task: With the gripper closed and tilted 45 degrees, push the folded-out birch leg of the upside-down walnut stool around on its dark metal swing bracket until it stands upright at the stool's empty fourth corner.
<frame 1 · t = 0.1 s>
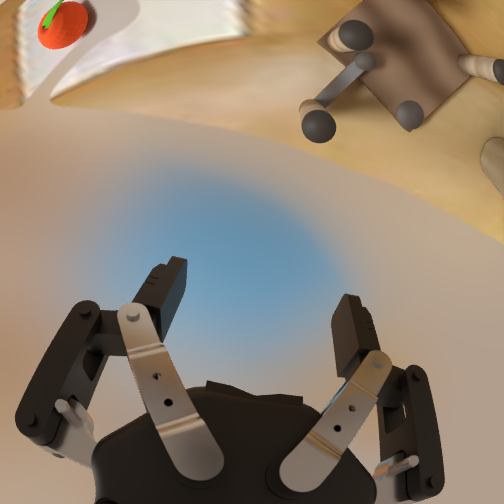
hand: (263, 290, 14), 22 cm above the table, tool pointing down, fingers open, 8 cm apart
swing leg: (343, 89, 20), point 6 cm above the table, hinge at -90.0°
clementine: (81, 21, 20), on the table
flower pot: (493, 156, 25), on the table
stool: (402, 49, 20), on the table
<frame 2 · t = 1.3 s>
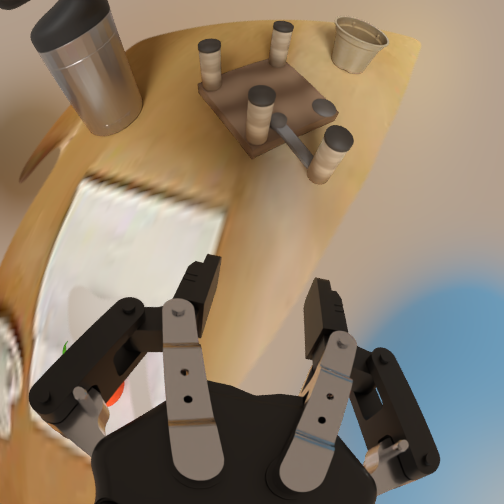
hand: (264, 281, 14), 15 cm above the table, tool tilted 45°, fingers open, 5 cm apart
swing leg: (305, 130, 27), point 6 cm above the table, hinge at -90.0°
flower pot: (347, 64, 38), on the table
stool: (266, 103, 34), on the table
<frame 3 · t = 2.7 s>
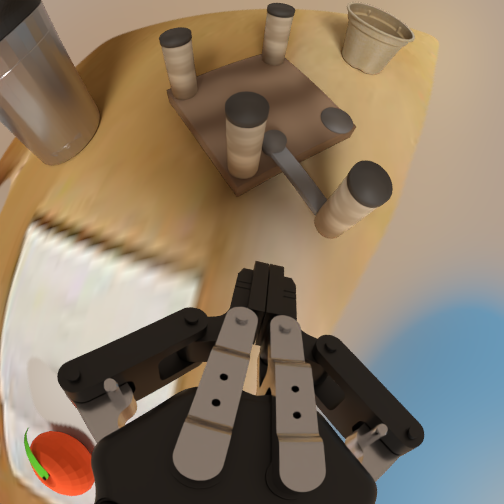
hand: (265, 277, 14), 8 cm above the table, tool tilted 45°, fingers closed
swing leg: (314, 161, 18), point 6 cm above the table, hinge at -90.0°
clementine: (75, 446, 18), on the table
flower pot: (361, 62, 30), on the table
stool: (258, 114, 26), on the table
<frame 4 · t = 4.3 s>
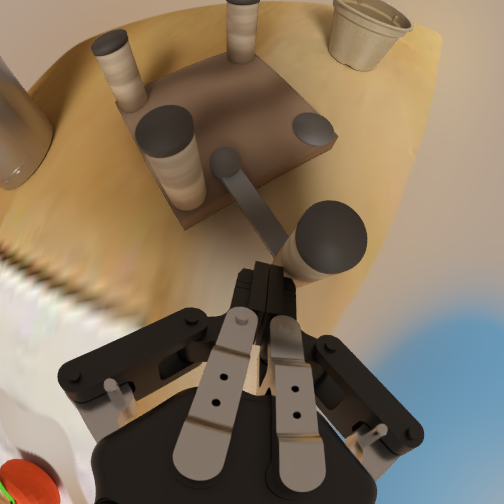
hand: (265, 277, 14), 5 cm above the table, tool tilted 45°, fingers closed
swing leg: (265, 193, 14), point 6 cm above the table, hinge at -89.9°, touching gripper
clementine: (42, 472, 14), on the table
flower pot: (351, 57, 26), on the table
stool: (219, 124, 22), on the table
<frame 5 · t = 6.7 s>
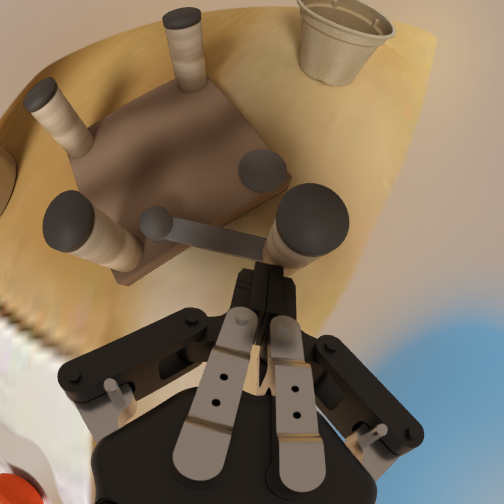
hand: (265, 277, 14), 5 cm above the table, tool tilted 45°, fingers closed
swing leg: (217, 223, 13), point 6 cm above the table, hinge at -45.9°, touching gripper
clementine: (29, 484, 13), on the table
flower pot: (326, 69, 24), on the table
stool: (165, 165, 21), on the table
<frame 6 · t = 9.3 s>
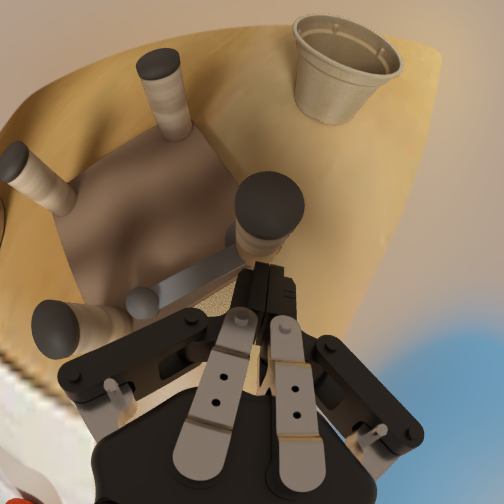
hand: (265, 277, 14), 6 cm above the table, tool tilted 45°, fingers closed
swing leg: (194, 264, 14), point 6 cm above the table, hinge at -4.5°
flower pot: (324, 104, 24), on the table
stool: (151, 225, 20), on the table
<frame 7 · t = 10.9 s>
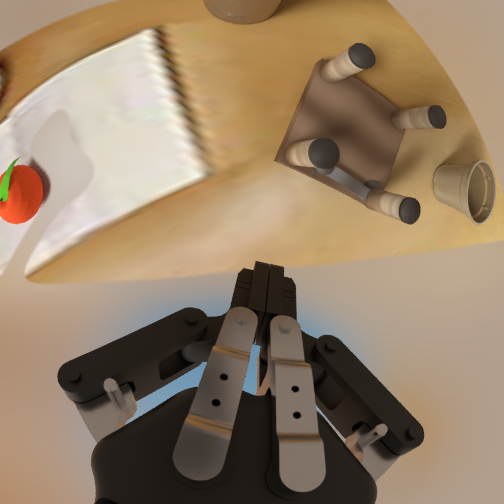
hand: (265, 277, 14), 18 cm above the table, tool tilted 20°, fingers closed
swing leg: (366, 187, 26), point 6 cm above the table, hinge at -4.5°
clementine: (34, 186, 26), on the table
flower pot: (442, 183, 35), on the table
stool: (345, 134, 30), on the table
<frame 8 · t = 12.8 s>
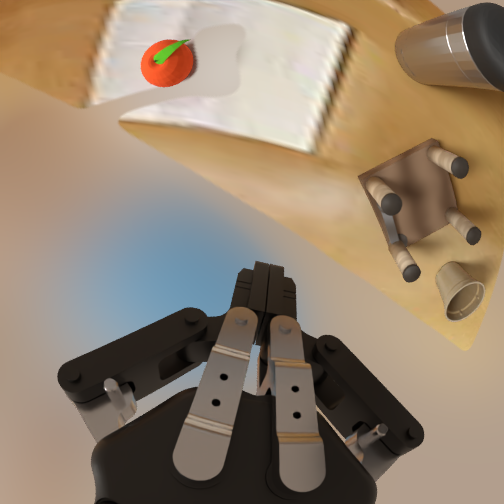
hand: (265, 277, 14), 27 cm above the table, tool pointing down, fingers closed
swing leg: (398, 238, 35), point 6 cm above the table, hinge at -4.5°
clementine: (179, 62, 31), on the table
flower pot: (447, 273, 44), on the table
stool: (411, 195, 37), on the table
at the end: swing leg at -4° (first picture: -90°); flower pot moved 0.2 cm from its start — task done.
